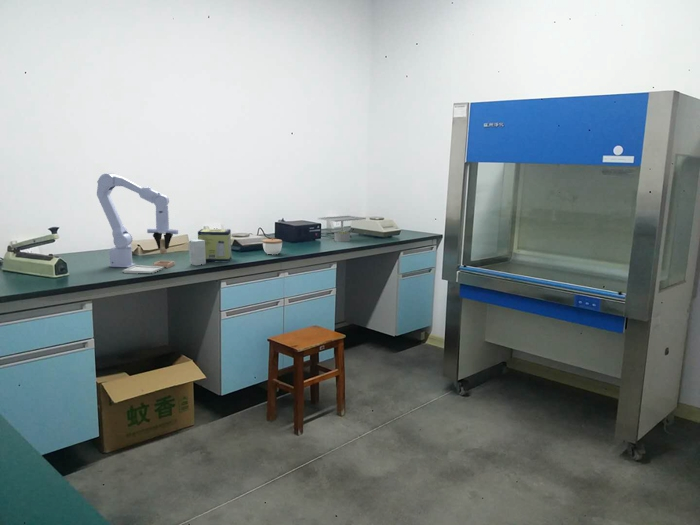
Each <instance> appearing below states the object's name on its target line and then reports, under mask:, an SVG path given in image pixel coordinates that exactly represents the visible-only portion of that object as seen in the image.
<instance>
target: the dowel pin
mask: <svg viewBox="0 0 700 525" xmlns="http://www.w3.org/2000/svg"><path fill="white" fill-rule="evenodd" d="M167 250H168V249H165V239H164V238H161V239H160V249H159V254H160V255H167V253H168V251H167Z"/></svg>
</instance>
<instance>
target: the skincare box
mask: <svg viewBox="0 0 700 525" xmlns="http://www.w3.org/2000/svg"><path fill="white" fill-rule="evenodd" d="M189 243H190V244H189V246H190V265H191V264H192V266H201V264H202V265H206V263H207V262H206V255H205V240H198V239H193V240H190V242H189Z"/></svg>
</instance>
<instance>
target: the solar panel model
mask: <svg viewBox="0 0 700 525" xmlns="http://www.w3.org/2000/svg"><path fill="white" fill-rule="evenodd" d="M317 220H319V221H328V222H334V223H335V222H340V231H334V242H338V243H343V242H350V241H351V232H350V231H344V222H349V221H361V220H367V217H362V216H354V215H339V216H327V217H325V216H324V217H317Z"/></svg>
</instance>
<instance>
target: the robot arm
mask: <svg viewBox="0 0 700 525" xmlns="http://www.w3.org/2000/svg"><path fill="white" fill-rule="evenodd" d="M96 183H97V188H96V189H97V190H96V196H97V198H98V200H99V203H100V206H101V207H102V210H103V212H104V215H105V216H106V219H107V220H108V222H109V226H110V228H111V230H112V231H111V233H112V237H113V245H114V246H115V247H114V246H113V247H111V248H110V250H109V264H110V265H109V267H111V268H129V267H132V266H135V265H137V263H134V262H133V251H132V250H133V247H132V242H133V235H132V234H130V233H129V231H128V230H127V228H126V227H125V226H124V224H123V222H122V220H121V218H120V215H119V213H118V211H117V209H116V206H115V204H114V202H113V199H112V198H111V193H112V191H113V190H114V189H115V188H116V187H123V188H125V189H127V190H130V191H131V192H132V191H133V192H134V193H136V194H138V196H139V197H140V198H141V199H143V200H145V201H147V202H149V203H151V204H154V205H155V226H156V227H155V228H147V232H146V233H147V234H152V237H153V238H154V240H155V243H156V246H157V248H158V249H159V250H160V239H165V249H167V250H168V249H169V247H170V243H171V241H172V238H173V236H174V235H178V234H179V230H178V229H170V225H169V224H170V223H169V222H170V221H169V219H170V218H169V203H170V200H169V197H168V196H167V195H166V194H162V193H161V192H159V191H156V190H153V189H152V187H150V186H143V187H142V186H140V185H138V184H136V183H134V182H132V181H130V180H129V179H127V178H125V177H123V176H122V175H119V174H118V175H117V174H115V173H113V172H110V173H103V174H101V175H100V176H99V178H98V180H97V181H96ZM162 237H163V238H162Z"/></svg>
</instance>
